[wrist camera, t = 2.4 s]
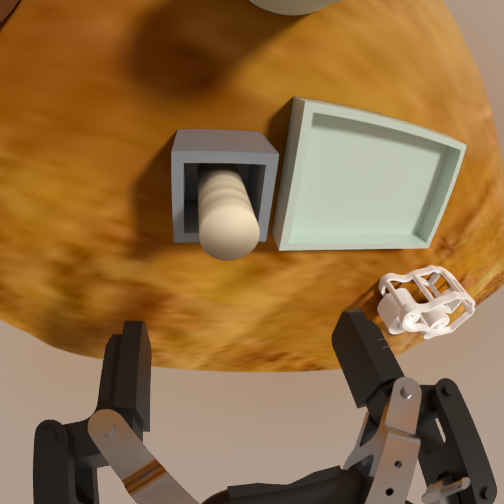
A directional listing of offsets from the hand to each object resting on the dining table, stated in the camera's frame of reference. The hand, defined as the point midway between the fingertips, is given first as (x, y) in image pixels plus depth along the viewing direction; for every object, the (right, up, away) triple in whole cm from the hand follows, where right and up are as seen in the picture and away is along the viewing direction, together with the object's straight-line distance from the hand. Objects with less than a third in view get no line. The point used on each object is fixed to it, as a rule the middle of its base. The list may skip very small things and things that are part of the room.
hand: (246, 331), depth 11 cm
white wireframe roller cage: (+27, -3, +31) cm, 41 cm away
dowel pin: (-3, +10, +13) cm, 17 cm away
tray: (+13, +11, +17) cm, 24 cm away
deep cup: (-3, +11, +14) cm, 18 cm away
